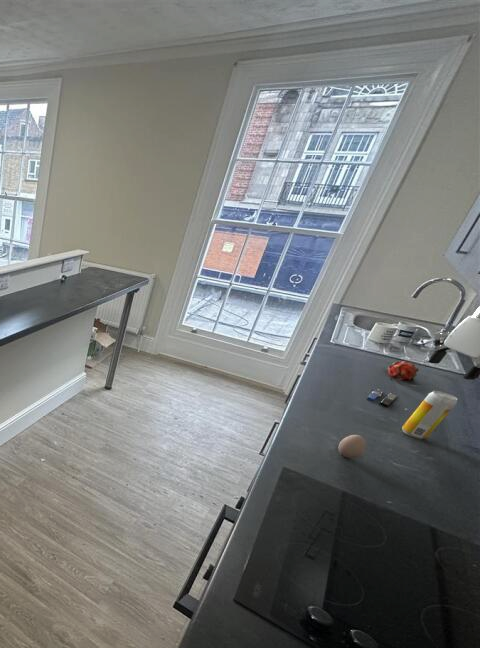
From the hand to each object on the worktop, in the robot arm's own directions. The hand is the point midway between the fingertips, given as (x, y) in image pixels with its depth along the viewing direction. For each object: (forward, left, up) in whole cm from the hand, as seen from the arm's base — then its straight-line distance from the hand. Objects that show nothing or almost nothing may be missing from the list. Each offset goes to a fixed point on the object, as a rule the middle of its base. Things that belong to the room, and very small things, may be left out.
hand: (450, 370), depth 118 cm
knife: (+19, -18, -23) cm, 35 cm away
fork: (+23, -16, -23) cm, 36 cm away
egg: (-12, +34, -23) cm, 43 cm away
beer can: (-1, -3, -23) cm, 23 cm away
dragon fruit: (+36, -41, -23) cm, 59 cm away
